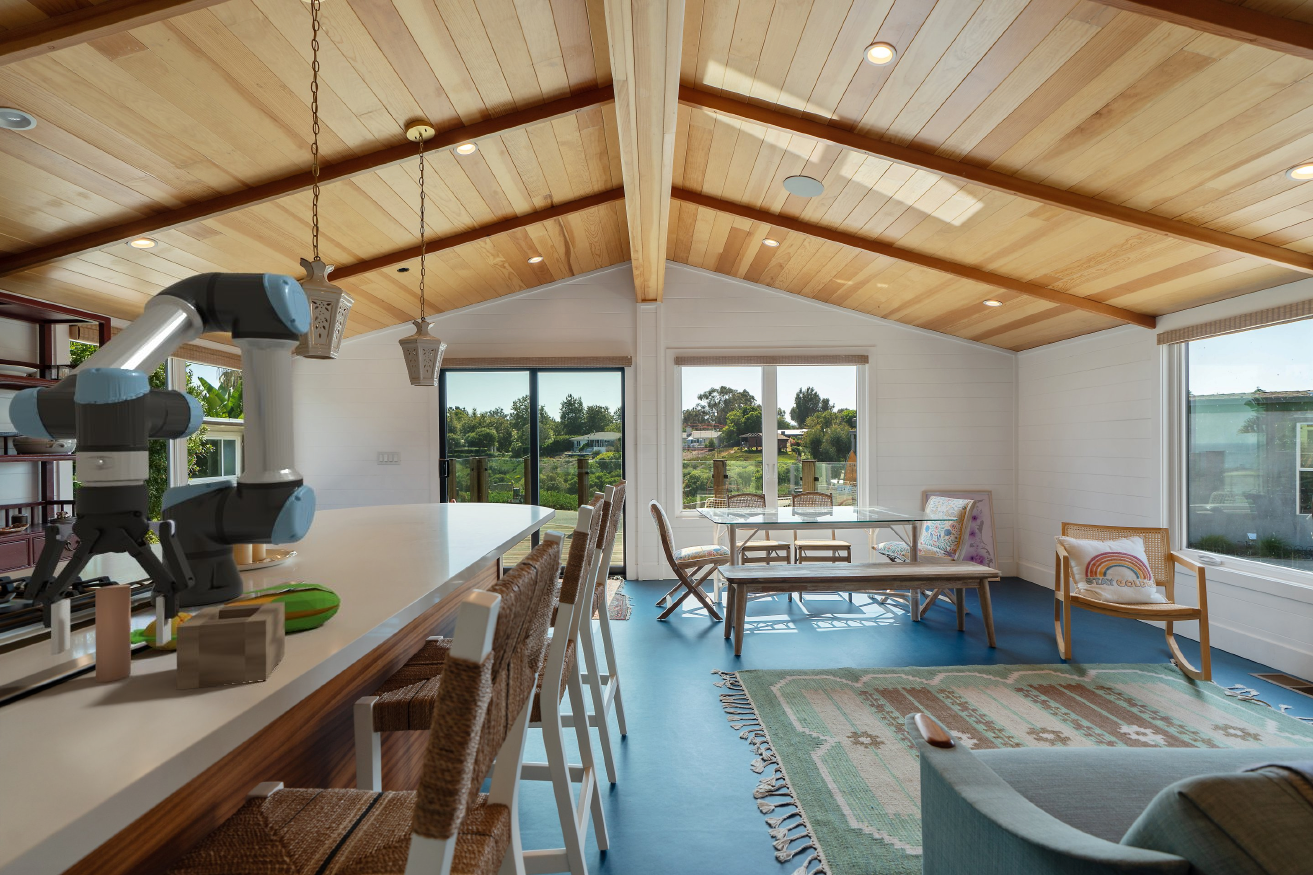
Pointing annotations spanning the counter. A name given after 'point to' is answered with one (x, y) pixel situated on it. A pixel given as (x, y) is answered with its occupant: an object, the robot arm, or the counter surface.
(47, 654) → the counter surface
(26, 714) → the counter surface
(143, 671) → the counter surface
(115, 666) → the peg
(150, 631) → the toy pineapple
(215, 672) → the socket block
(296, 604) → the corn
